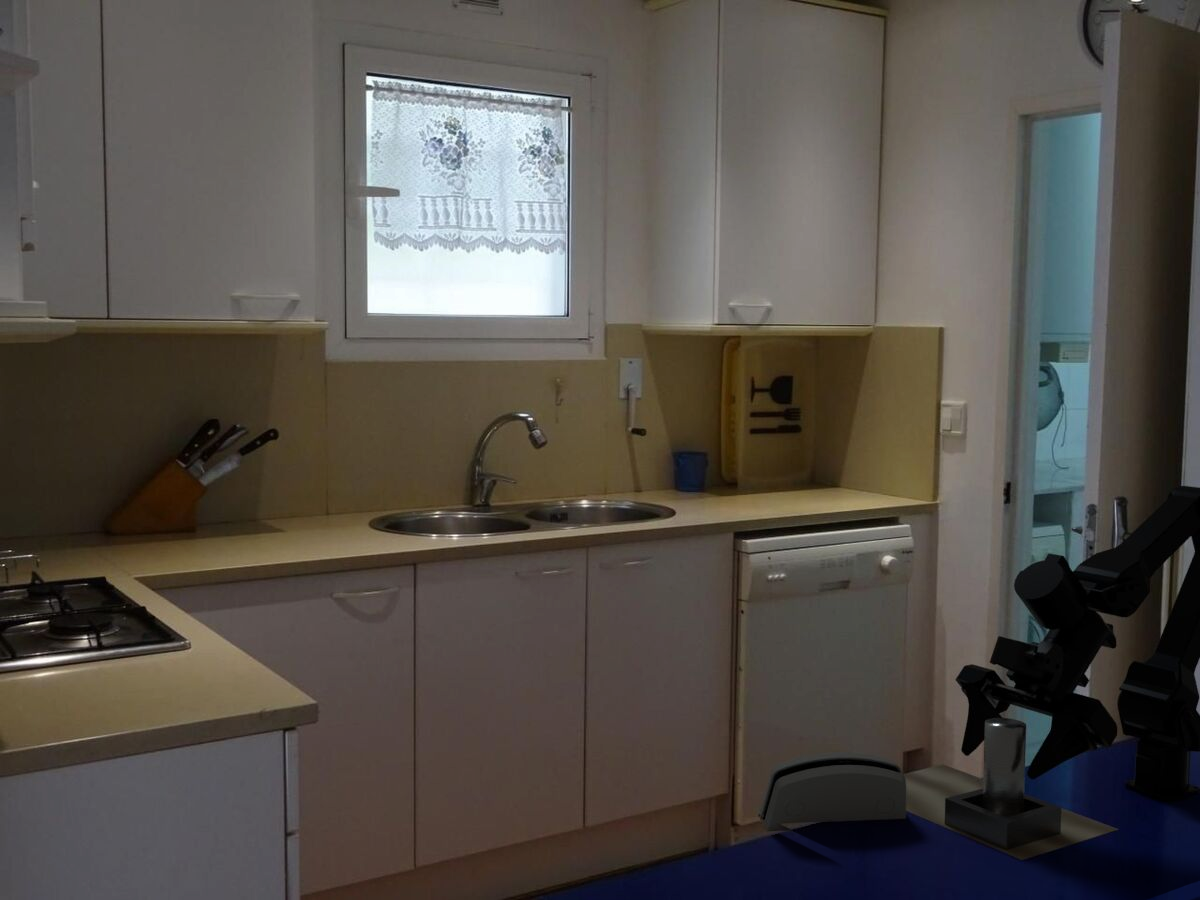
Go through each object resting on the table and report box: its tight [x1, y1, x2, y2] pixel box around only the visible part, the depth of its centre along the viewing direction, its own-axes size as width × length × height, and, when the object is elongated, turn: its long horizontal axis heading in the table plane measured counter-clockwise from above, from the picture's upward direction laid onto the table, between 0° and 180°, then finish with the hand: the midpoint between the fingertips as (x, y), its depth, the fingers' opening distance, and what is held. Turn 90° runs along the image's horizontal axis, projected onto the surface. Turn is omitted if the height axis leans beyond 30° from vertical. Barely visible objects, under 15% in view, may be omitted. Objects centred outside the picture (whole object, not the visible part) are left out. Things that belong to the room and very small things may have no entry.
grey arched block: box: [757, 752, 907, 832], centre depth 153 cm, size 17×5×10 cm, turn 97°
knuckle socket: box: [945, 788, 1063, 850], centre depth 150 cm, size 9×9×3 cm
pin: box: [982, 717, 1027, 817], centre depth 149 cm, size 4×4×12 cm
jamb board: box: [902, 763, 1120, 861], centre depth 157 cm, size 16×26×1 cm, turn 33°
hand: (996, 765), depth 148 cm, fingers open, 9 cm apart
